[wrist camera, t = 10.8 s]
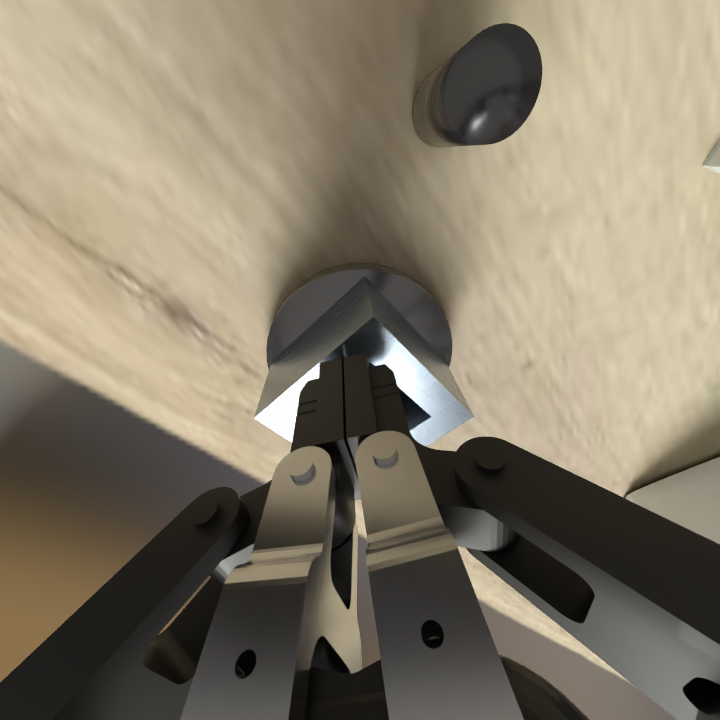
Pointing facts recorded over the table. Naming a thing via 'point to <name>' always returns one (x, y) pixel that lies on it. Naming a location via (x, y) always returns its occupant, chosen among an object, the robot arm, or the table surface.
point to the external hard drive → (713, 159)
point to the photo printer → (687, 499)
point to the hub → (336, 282)
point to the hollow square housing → (382, 346)
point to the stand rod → (480, 90)
